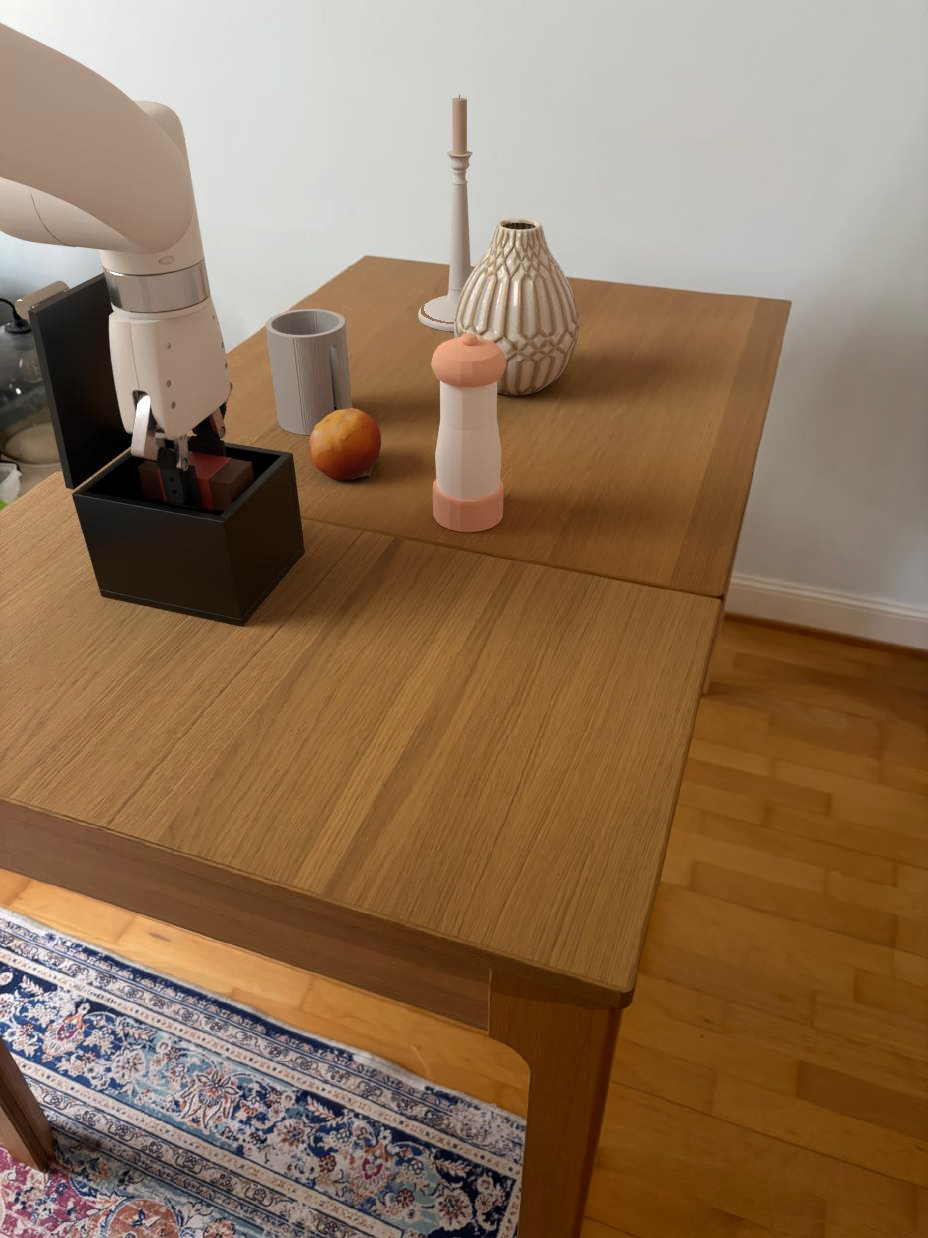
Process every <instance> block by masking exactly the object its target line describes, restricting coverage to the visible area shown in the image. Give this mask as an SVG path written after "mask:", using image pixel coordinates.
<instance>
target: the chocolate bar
mask: <svg viewBox="0 0 928 1238" xmlns="http://www.w3.org/2000/svg"><path fill="white" fill-rule="evenodd" d="M170 450H172V451H173V452H175V451H174V449H170ZM188 456H189V465H192V466H195V470H196V475H197V481H198V486H199V491H200V496H201V501H202V505H201V506H200V507H199V508H203V509H208V510H218V511H225V510H226V509H227V508H228V507H229V506H230V505H231V504H232V503H233V502H234V501H235V500H236V499H237V498H238V497H239V496H240V495H242V494H243V493H244V492H245V491H246V490H247V489H248V488H249V487H250V486H251V485H252V484H253V483H254V482H255V481H254V474H253V468H252V462H248V461H242V460H236V459H232V458H228V457H222V456H216V455H210V454H204V453H198V452H192V451H188ZM138 471H139V475H140V480H141V484H142V488H143V492H144V496H145V497H147V498H152V499H158V500H163V501H165V502H167V500H166V496H165V491H164V487H163V482H162V478H161V473H160V469H159V467H157V466H154V464H153V462H151V461H149V460H146V461H145V462H144V463H143V464H141V465H140V466H139V467H138Z"/></svg>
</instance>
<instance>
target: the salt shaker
mask: <svg viewBox="0 0 928 1238" xmlns="http://www.w3.org/2000/svg"><path fill="white" fill-rule="evenodd" d="M430 367H431V369H432V372H433V373H434V375H435V377H436V379H437V380H438V381H439V413H440V414H439V416H440V417H439V418H440V420H439V427H438V434H437V440H436V446H435V452H434V459H435V462H434V463H435V477H436V478H435V479H434V481H433V483H432V484H433V485H432V517H433V519H434V521H435V522H436V523H437V524H438V525H440V526H441V527H444V528H446V529H447V530H450V531H456V532H459V533H475V532H483V531H486V530H490V529H492V528H494V527H495V526H497V525H498V524H499V523H500V522H501V521H502V520H503V517H504V493H505V492H504V487H505V485H504V482H503V481H502V479H501V468H502V455H503V454H502V451H503V450H502V446H501V445H502V444H501V439H500V430H499V425H498V417H497V416H498V415H497V414H498V411H497V410H498V393H497V381H498V380H499V379H500V378H501V377H502V375H503V373H504V371H505V368H506V359H505V355H504V353H503V352H502V350H501V349H500V347H499V346H498V345H497V344H496V343H494V342H492V341H489V340H486V339H483V338H480V337H476V335H475V334H473V333H465V334H463V335H462V336H461V337H458V338H450V339H449V340H446V341H443V342H441V343H440V344H439V345H438V346H437V348H436V349H435V350H434V351H433V355H432V359H431V362H430Z"/></svg>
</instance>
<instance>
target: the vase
mask: <svg viewBox="0 0 928 1238" xmlns="http://www.w3.org/2000/svg"><path fill="white" fill-rule="evenodd" d="M573 292H574V291H573V290H572V286H571V285H570V282H569V280H568V278H567V276H566V275H565V272H564V271H563V268H562V267H561V266H560V263H558V261H557V260H556V258H555V256H554V255H553V254H552V252H551V250H550V249H549V246H548V243H547V239H546V236H545V231H544V227H543V225H542V223H541V222H539V221H537V220H534V219H530V218H518V217H517V218H516V217H515V218H508V219H503V220H500V221H499V222H498V223H497V224H496V226H495V229H494V231H493V235H492V238H491V241H490V243H489V246H488V248H487V250H486V251H485V253H484V254H483V256H481V258H480V259H479V261H478V262H477V263H476V265H475V266H474V268H473V269H472V270H471V274H470V276H469V277H468V279H467V281H466V283H465V285H464V287H463V289H462V292H461V294H460V297H459V300H458V304H457V308H456V312H455V317H454V332H453V337H454V338H458V337H461V336H462V335H463V334H465V333H473V334H475V335H476V337H480V338H483V339H486V340H489V341H492V342H494V343H496V344H497V345H498V346H499V347H500V349H501V350H502V352H503V353H504V355H505V359H506V368H505V371H504V373H503V375H502V377H501V378H500V379H499V380H498V381H497V394H500V395H505V396H506V395H507V396H524V395H525V396H526V395H531V394H535V393H537V392H540V391H542V390H543V389H545V388H547V387H548V386H549V385H552V383H554V382H555V381H556V380H557V379H558V378H559V377H560V376H562V374H563V373H564V371H565V370H566V368H567V367H568V365H569V364H570V361H571V360H572V358H573V355H574V354H575V351H576V350H575V349H576V347H577V344H578V343H577V342H578V338H579V331H580V321H579V313H578V307H577V302H576V299H575V296H574V293H573ZM454 338H453V339H454Z"/></svg>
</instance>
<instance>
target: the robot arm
mask: <svg viewBox="0 0 928 1238" xmlns="http://www.w3.org/2000/svg"><path fill="white" fill-rule="evenodd" d="M191 174H192V173H191V167H190V161H189V155H188V150H187V144H186V138H185V131H184V128H183V124H182V122H181V119H180V117H179V116H178V114H177V112H176V111H175V110H173V109H172V108H171V107H170V106H168V105H166V104H162V103H160V102H156V101H151V100H149V101H148V100H133V99H132V98H130V96H128V95H127V94H126V93H125V92H123V90H121V89H120V88H119V87H117V86H116V85H115V84H113V82H111V81H109V80H108V79H107V78H105V77H104V76H102V75H101V74H99V73H98V72H96V71H95V70H93V69H91V68H90V67H88V66H86V65H84V64H82V63H81V62H79V61H78V60H77V59H74V58H72V57H71V56H69V55H66V54H65V53H63V52H61V51H60V50H57V49H55V48H53V47H51V46H49V45H47V44H45V43H42V42H41V41H38V40H36V39H34V38H32V37H30V36H29V35H27V34H24V33H22V32H20V31H18V30H16V29H14V28H12V27H10V26H8V25H6V24H4V23H2V22H0V232H2V233H3V234H5V235H8V236H10V237H12V238H15V239H18V240H21V241H26V242H30V243H35V244H42V245H43V244H44V245H52V246H62V247H67V248H68V247H70V248H85V249H93V250H98V252H99V256H100V261H101V265H102V269H103V272H104V274H105V278H106V283H107V287H108V291H109V296H110V300H111V305H112V309H113V311H114V312H113V313H112V314H110V315H109V339H110V352H111V361H112V368H113V375H114V382H115V388H116V393H117V399H118V404H119V409H120V413H121V418H122V421H123V425H124V428H125V430H126V431H127V433H130V434H133V437H132V444H131V447H130V449H131V454H132V456H135V457H140V458H144V459H148V460H149V461H151V462H153V464H154V466H157V467H159V469H160V473H161V478H162V482H163V487H164V491H165V496H166V500H167V502H168V503H169V504H171V505H176V506H181V507H187V508H192V509H198V508H199V507H200V506H201V505H202V501H201V496H200V491H199V486H198V481H197V475H196V470H195V466H192V465H189V456H188V442H187V436H188V433H189V432H190V431H191V432H192V435H191V436H189V440H190V446H191V451H192V452H198V453H204V454H210V455H216V456H222V457H227V455H226V449H225V444H224V442H225V440H224V439H225V437H226V436H227V426H226V424H225V421H224V420H225V416H226V414H227V408H228V406H227V404H228V403H229V398H230V397H231V393H232V391H233V383H232V381H231V377H230V368H229V363H228V358H227V351H226V347H225V343H224V338H223V333H222V329H221V326H220V321H219V318H218V314H217V311H216V309H215V304H214V302H213V299H212V294H211V287H210V282H209V275H208V271H207V264H206V258H205V252H204V246H203V240H202V233H201V228H200V222H199V215H198V211H197V203H196V198H195V190H194V185H193V180H192V179H193V178H192V175H191ZM165 440H170V441H174V451H175V452H173V451H172V450H170V449H169V448H166V447H165Z"/></svg>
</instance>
